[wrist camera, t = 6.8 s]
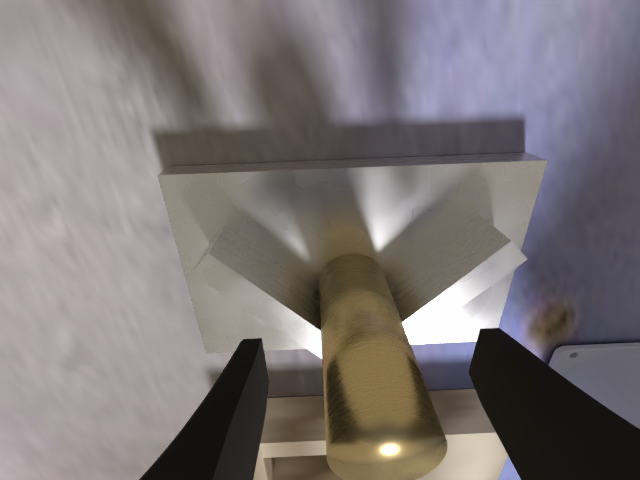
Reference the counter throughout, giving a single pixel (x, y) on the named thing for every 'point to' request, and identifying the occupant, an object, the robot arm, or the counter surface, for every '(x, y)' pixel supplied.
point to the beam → (310, 439)
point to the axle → (372, 380)
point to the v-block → (350, 241)
